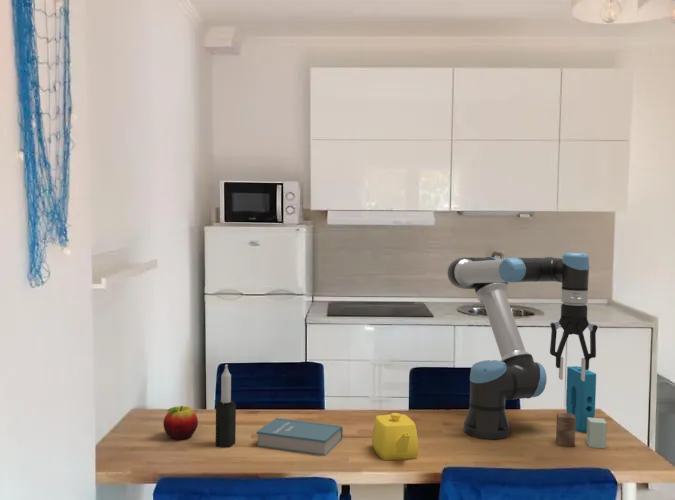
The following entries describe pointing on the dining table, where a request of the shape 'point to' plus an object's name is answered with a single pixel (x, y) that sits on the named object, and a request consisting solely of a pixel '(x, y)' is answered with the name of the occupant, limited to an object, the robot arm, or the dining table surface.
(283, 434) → the book
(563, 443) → the walnut pillar
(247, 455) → the dining table surface
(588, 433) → the sage pillar
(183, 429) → the fruit
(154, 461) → the dining table surface
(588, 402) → the block
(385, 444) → the teapot
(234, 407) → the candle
